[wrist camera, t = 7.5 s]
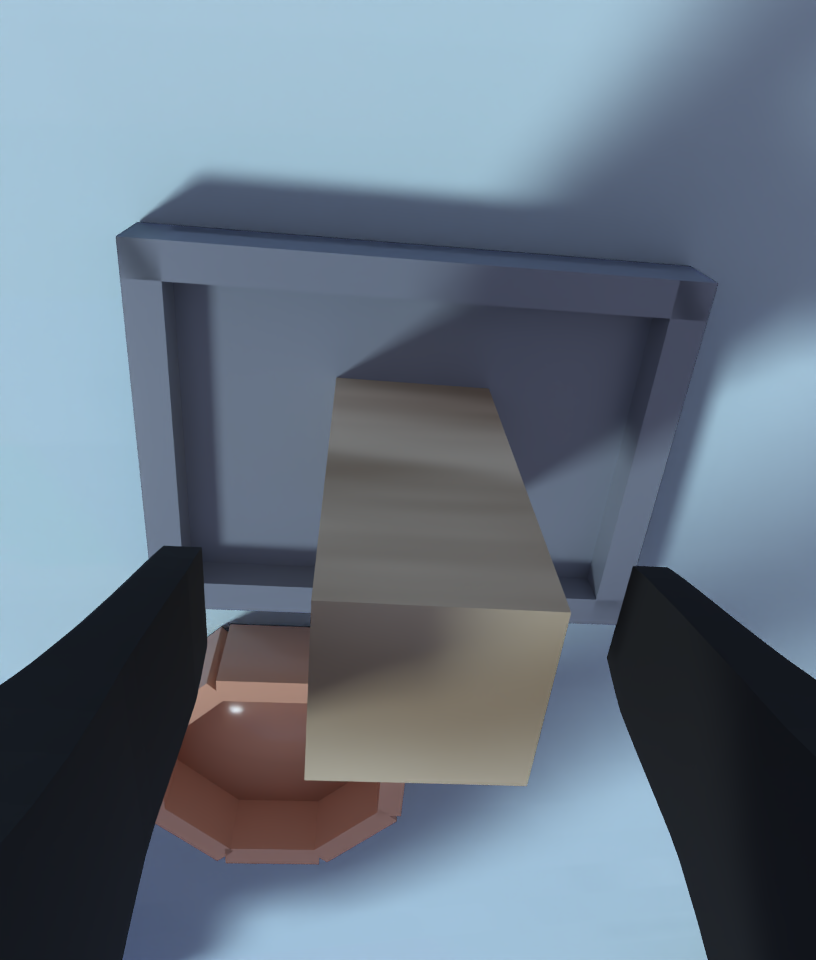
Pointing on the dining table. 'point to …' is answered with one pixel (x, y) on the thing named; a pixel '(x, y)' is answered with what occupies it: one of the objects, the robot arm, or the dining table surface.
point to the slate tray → (396, 358)
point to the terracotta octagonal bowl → (263, 761)
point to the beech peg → (427, 595)
